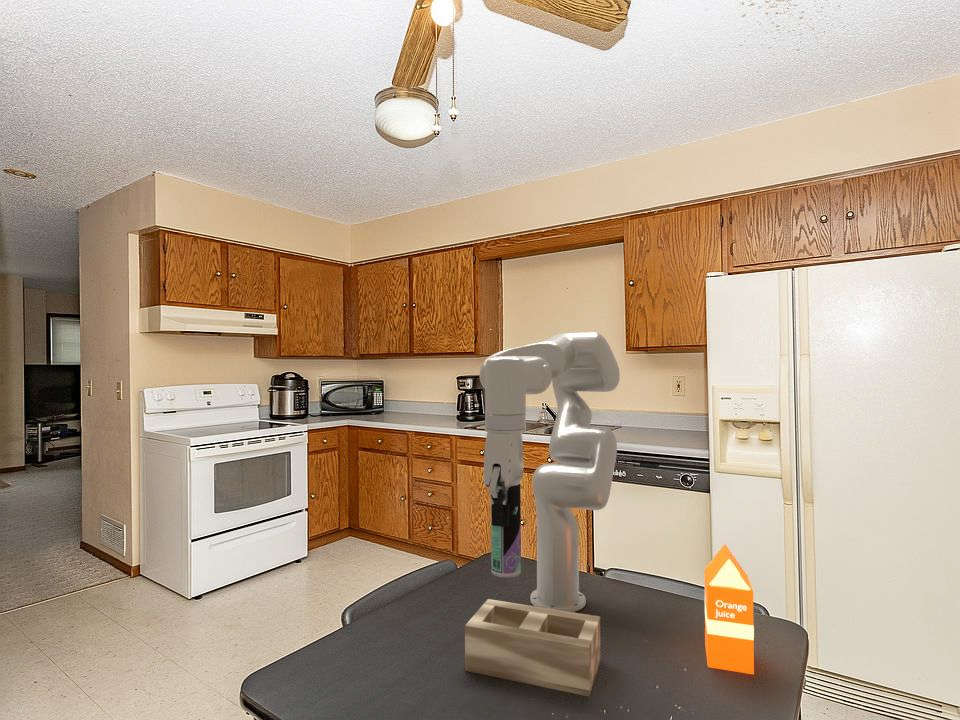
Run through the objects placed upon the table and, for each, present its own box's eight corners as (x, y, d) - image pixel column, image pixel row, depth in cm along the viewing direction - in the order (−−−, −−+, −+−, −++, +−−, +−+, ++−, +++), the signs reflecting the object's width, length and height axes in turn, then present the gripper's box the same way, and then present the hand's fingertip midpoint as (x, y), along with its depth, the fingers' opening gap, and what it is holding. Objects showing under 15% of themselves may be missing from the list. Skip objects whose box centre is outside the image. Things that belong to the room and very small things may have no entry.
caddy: (488, 639, 110) (488, 598, 110) (600, 660, 102) (600, 616, 102) (465, 670, 99) (464, 625, 99) (589, 696, 91) (588, 647, 91)
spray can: (518, 578, 99) (518, 466, 100) (488, 576, 100) (488, 465, 101) (522, 567, 105) (522, 461, 105) (494, 565, 106) (493, 460, 106)
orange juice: (748, 650, 106) (747, 545, 106) (754, 674, 97) (753, 560, 97) (704, 643, 108) (703, 540, 108) (706, 667, 100) (705, 555, 100)
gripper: (501, 418, 112) (501, 508, 112) (469, 427, 96) (469, 532, 96) (537, 419, 109) (537, 511, 109) (510, 429, 93) (511, 537, 93)
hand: (505, 520), depth 103 cm, fingers closed on spray can, 5 cm apart
